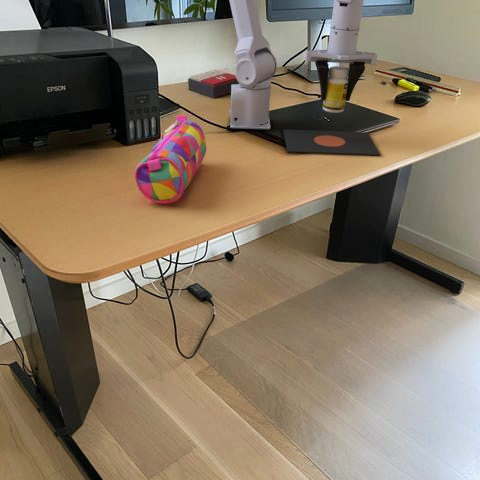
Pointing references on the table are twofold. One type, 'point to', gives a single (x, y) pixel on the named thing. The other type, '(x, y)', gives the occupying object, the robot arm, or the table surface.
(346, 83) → the supplement bottle
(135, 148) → the table surface
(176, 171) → the pencil case
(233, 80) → the red and black box
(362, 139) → the desk mat
